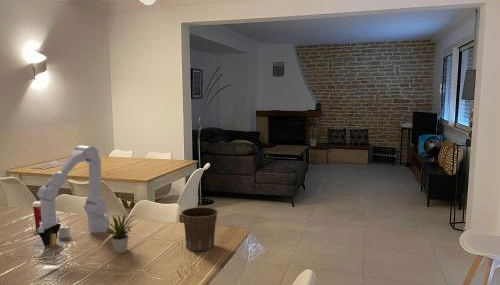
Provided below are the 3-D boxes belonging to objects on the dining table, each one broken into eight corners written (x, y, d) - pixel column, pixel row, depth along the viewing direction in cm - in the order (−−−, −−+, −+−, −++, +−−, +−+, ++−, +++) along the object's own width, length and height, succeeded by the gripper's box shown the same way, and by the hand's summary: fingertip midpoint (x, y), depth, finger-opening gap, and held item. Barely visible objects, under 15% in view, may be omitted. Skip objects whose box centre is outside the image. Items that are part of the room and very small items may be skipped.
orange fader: (56, 243, 172) (55, 233, 171) (53, 246, 169) (52, 235, 168) (47, 243, 172) (46, 233, 171) (44, 246, 169) (43, 235, 168)
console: (74, 236, 184) (74, 234, 184) (56, 251, 167) (56, 248, 166) (45, 236, 184) (45, 234, 184) (24, 251, 166) (23, 248, 166)
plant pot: (195, 238, 183) (195, 205, 181) (225, 243, 176) (224, 209, 174) (174, 249, 168) (173, 214, 166) (205, 256, 161) (205, 219, 159)
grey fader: (70, 235, 182) (69, 225, 181) (67, 238, 179) (66, 227, 178) (61, 235, 182) (61, 225, 181) (58, 238, 179) (58, 227, 178)
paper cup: (43, 231, 192) (41, 204, 190) (30, 230, 193) (28, 203, 192) (54, 226, 199) (52, 200, 198) (41, 225, 201) (39, 199, 199)
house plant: (146, 246, 172) (145, 211, 170) (127, 258, 159) (126, 220, 157) (120, 242, 176) (119, 208, 175) (99, 254, 163) (97, 217, 162)
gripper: (48, 208, 176) (49, 237, 177) (30, 218, 162) (32, 249, 163) (63, 208, 176) (65, 237, 177) (46, 218, 162) (48, 249, 163)
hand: (50, 243), depth 170 cm, fingers open, 5 cm apart
